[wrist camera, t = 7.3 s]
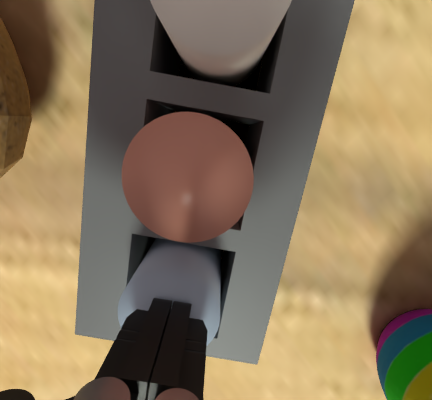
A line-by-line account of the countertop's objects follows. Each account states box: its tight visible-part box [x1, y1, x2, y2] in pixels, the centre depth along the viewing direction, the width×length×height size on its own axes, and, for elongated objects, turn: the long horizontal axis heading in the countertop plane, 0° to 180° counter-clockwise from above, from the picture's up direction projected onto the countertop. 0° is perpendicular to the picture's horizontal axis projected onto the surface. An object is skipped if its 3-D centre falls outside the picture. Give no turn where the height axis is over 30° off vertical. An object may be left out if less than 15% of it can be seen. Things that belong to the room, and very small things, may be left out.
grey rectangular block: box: [75, 0, 354, 364], centre depth 14 cm, size 18×9×6 cm, turn 170°
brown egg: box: [122, 112, 254, 243], centre depth 11 cm, size 4×4×6 cm
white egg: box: [150, 0, 292, 87], centre depth 10 cm, size 4×4×6 cm
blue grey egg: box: [118, 238, 221, 345], centre depth 13 cm, size 4×4×6 cm
